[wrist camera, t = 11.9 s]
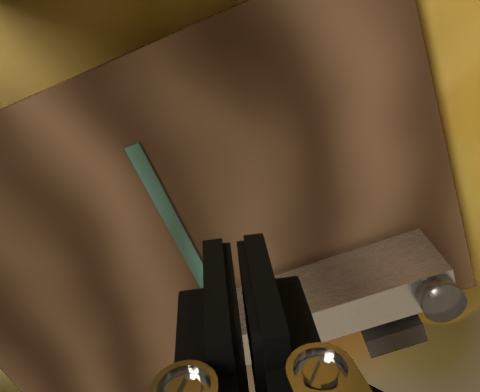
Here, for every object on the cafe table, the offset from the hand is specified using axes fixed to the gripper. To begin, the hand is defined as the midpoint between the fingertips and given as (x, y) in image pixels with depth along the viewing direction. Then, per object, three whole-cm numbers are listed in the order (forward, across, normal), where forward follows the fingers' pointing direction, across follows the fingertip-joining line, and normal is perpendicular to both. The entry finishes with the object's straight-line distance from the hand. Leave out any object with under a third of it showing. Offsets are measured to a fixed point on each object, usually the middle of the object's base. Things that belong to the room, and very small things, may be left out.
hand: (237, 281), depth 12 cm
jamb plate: (+13, +3, +5) cm, 14 cm away
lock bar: (+11, -4, +8) cm, 14 cm away
